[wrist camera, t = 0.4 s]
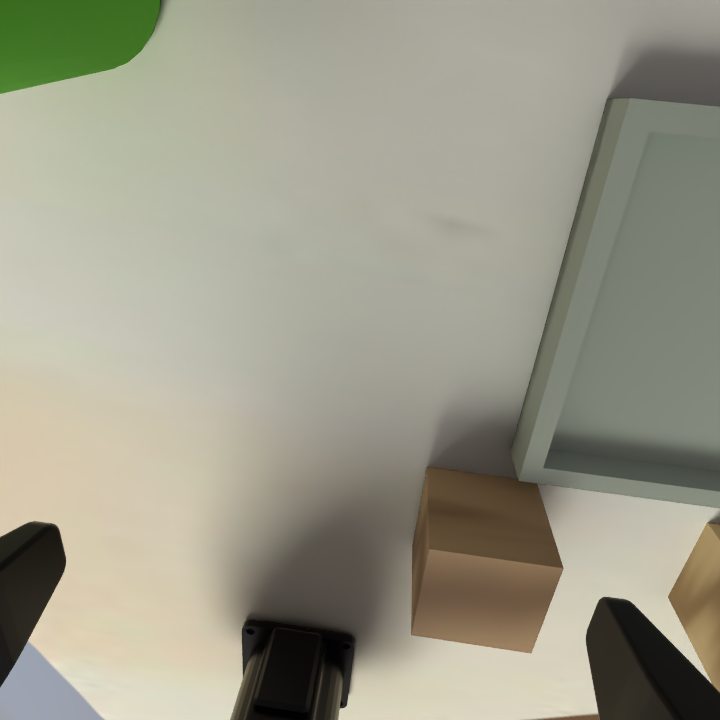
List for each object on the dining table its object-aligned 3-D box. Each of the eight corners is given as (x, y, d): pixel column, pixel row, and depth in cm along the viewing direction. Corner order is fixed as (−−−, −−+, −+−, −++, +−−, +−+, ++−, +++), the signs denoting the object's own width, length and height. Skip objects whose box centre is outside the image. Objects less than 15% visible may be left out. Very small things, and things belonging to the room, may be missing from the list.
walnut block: (511, 558, 26) (531, 653, 21) (412, 544, 26) (411, 634, 21) (535, 480, 23) (563, 568, 19) (427, 465, 24) (429, 549, 19)
